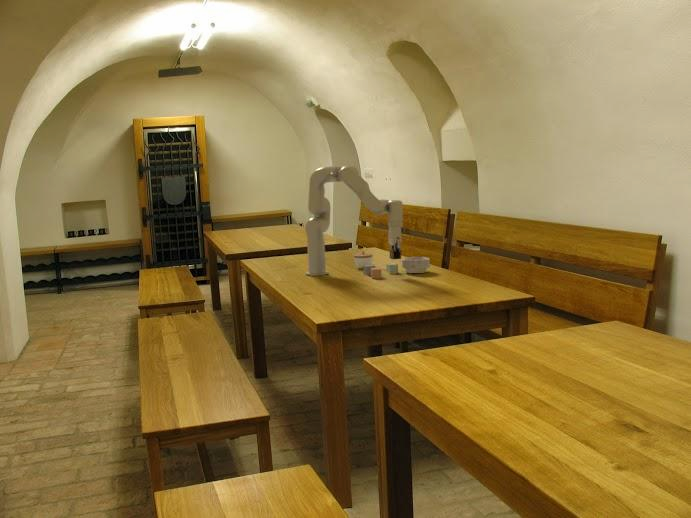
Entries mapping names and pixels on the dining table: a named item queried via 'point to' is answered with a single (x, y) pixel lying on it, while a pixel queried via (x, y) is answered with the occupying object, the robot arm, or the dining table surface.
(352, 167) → the robot arm
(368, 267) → the slate block
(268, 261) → the dining table surface
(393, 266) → the sage block
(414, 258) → the paper bowls
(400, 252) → the walnut block
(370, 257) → the lidded jar
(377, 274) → the terracotta block
